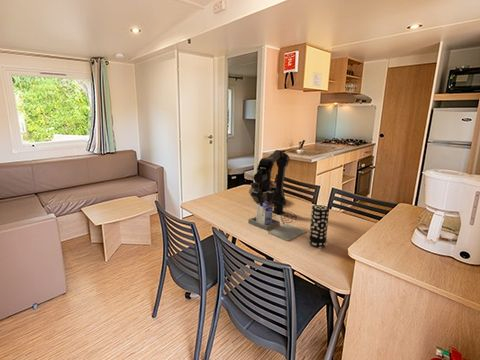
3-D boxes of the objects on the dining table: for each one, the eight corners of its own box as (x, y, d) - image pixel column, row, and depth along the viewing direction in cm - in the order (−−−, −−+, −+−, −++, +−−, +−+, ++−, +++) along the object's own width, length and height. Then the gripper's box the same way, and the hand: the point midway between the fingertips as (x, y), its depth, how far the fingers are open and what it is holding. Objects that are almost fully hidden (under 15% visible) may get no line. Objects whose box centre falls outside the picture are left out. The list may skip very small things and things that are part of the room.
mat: (286, 224, 163) (287, 223, 163) (306, 232, 153) (306, 231, 153) (267, 233, 151) (267, 232, 151) (288, 241, 141) (288, 240, 141)
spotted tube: (306, 240, 143) (309, 205, 138) (321, 240, 143) (325, 204, 139) (312, 248, 135) (315, 210, 130) (328, 247, 135) (332, 210, 131)
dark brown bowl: (249, 196, 221) (250, 177, 217) (279, 198, 217) (280, 178, 214) (246, 205, 197) (247, 184, 194) (279, 207, 194) (280, 186, 191)
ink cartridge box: (272, 226, 161) (273, 203, 157) (264, 227, 158) (265, 204, 155) (263, 220, 169) (264, 198, 166) (255, 222, 167) (256, 200, 163)
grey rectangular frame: (261, 218, 173) (261, 214, 172) (279, 225, 162) (279, 221, 162) (248, 223, 165) (248, 219, 164) (266, 230, 154) (266, 226, 154)
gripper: (265, 175, 169) (264, 199, 172) (244, 179, 156) (244, 205, 160) (279, 178, 161) (278, 203, 165) (258, 183, 148) (257, 209, 152)
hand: (264, 205), depth 161 cm, fingers open, 6 cm apart
